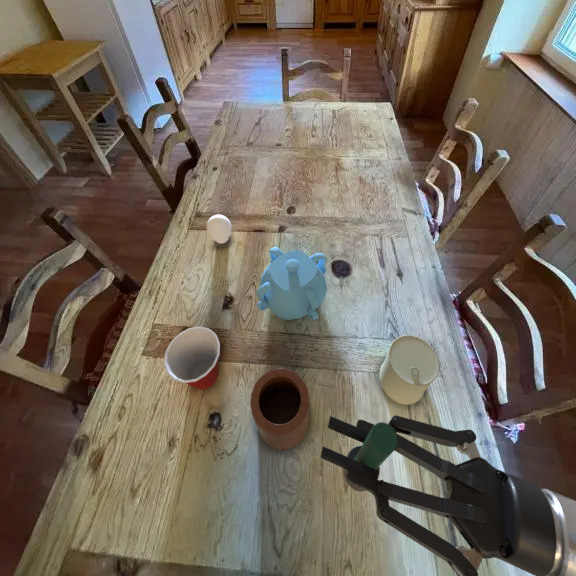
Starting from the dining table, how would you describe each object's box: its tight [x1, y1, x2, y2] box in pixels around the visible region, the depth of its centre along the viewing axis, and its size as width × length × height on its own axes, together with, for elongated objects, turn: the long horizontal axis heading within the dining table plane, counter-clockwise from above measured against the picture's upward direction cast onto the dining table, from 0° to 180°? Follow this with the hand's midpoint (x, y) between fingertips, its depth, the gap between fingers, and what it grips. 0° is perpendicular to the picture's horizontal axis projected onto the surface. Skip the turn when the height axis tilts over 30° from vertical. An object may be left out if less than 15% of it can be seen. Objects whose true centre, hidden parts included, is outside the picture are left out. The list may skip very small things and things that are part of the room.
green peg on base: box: [342, 421, 397, 493], centre depth 41 cm, size 4×4×22 cm
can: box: [378, 334, 440, 406], centre depth 67 cm, size 9×9×12 cm
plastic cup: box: [163, 325, 221, 390], centre depth 70 cm, size 11×11×12 cm
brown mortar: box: [249, 367, 310, 451], centre depth 63 cm, size 10×10×13 cm
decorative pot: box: [256, 246, 328, 321], centre depth 82 cm, size 16×16×14 cm
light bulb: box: [206, 213, 233, 248], centre depth 96 cm, size 7×7×11 cm
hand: (325, 436), depth 42 cm, fingers closed on green peg on base, 3 cm apart
